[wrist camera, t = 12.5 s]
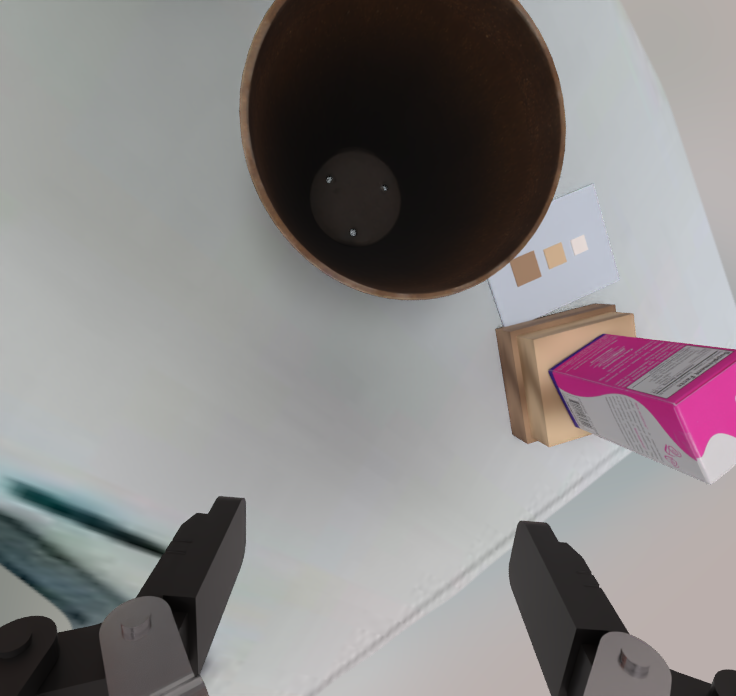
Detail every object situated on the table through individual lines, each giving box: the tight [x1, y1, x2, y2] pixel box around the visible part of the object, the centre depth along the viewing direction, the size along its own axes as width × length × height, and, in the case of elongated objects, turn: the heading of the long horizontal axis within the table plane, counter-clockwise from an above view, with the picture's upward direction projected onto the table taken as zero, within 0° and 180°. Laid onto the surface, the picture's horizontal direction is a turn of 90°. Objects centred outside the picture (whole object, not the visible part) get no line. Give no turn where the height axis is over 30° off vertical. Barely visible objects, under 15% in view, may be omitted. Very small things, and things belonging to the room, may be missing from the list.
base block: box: [495, 304, 636, 447], centre depth 38 cm, size 10×10×5 cm
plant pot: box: [239, 0, 566, 300], centre depth 27 cm, size 15×15×16 cm
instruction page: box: [488, 183, 620, 327], centre depth 39 cm, size 9×12×1 cm
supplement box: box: [548, 334, 736, 484], centre depth 30 cm, size 6×6×12 cm
